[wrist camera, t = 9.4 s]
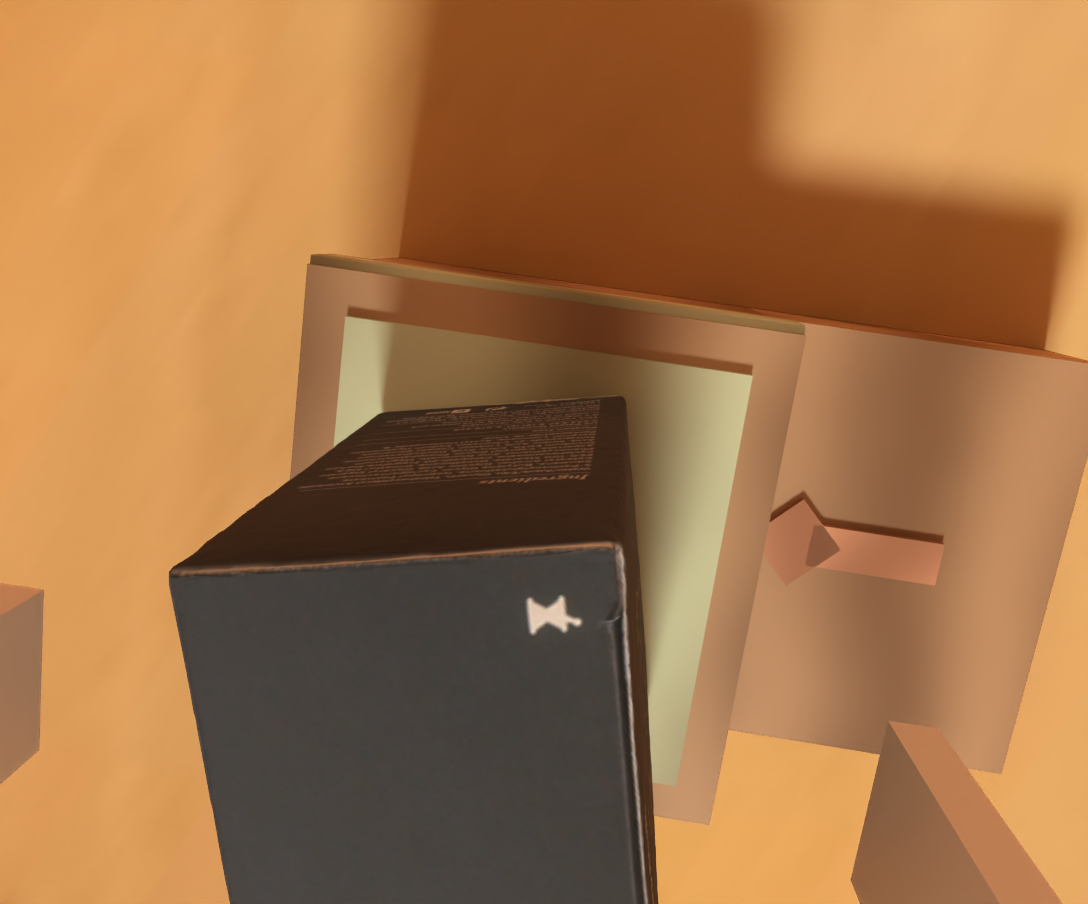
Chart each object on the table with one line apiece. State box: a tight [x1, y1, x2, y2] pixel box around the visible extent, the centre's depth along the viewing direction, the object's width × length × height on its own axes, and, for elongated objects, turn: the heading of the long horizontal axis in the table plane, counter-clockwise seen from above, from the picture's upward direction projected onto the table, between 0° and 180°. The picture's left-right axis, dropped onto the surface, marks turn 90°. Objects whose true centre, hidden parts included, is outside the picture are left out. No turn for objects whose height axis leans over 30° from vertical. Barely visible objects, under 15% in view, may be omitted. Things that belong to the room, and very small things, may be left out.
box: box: [169, 395, 658, 904], centre depth 17 cm, size 8×6×11 cm
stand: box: [290, 254, 1088, 825], centre depth 26 cm, size 20×12×9 cm, turn 82°
